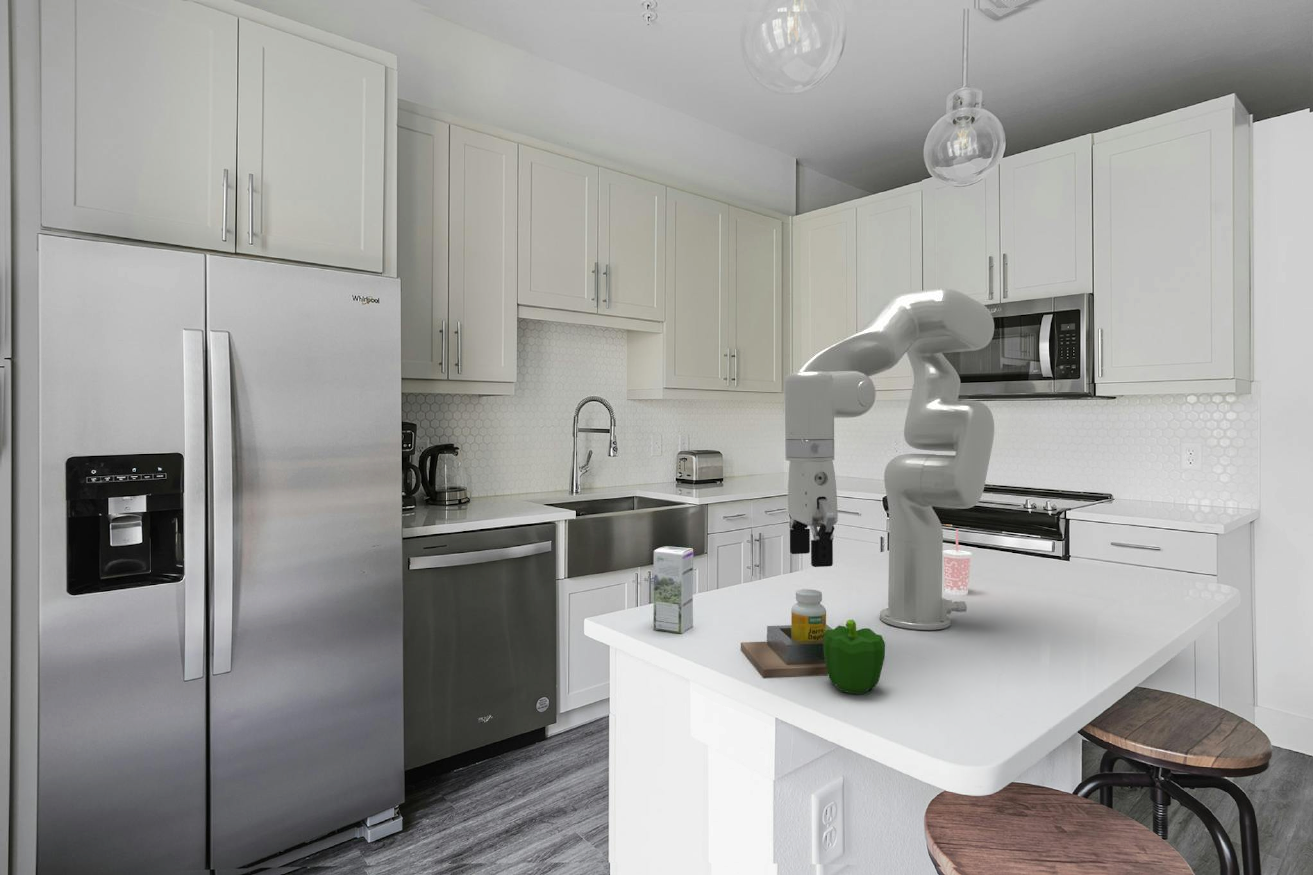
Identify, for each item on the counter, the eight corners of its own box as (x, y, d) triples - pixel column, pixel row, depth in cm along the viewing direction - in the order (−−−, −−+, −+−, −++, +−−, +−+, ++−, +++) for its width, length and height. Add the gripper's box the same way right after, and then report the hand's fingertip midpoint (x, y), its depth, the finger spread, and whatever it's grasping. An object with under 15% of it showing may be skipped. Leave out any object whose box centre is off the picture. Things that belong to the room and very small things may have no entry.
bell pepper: (844, 673, 106) (844, 606, 106) (894, 688, 100) (895, 617, 100) (809, 686, 101) (810, 616, 100) (860, 703, 94) (861, 628, 94)
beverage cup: (935, 590, 160) (936, 528, 160) (959, 588, 162) (960, 527, 161) (953, 596, 154) (954, 532, 154) (977, 595, 156) (978, 531, 156)
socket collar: (825, 642, 117) (825, 623, 117) (850, 662, 107) (850, 642, 107) (767, 644, 116) (767, 626, 116) (786, 664, 106) (786, 644, 106)
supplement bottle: (808, 645, 115) (808, 586, 115) (833, 654, 111) (834, 593, 111) (783, 651, 112) (784, 590, 112) (808, 660, 108) (809, 597, 108)
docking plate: (845, 645, 119) (845, 638, 119) (880, 672, 106) (880, 664, 106) (740, 649, 117) (740, 642, 117) (763, 677, 104) (763, 669, 104)
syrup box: (693, 626, 130) (694, 547, 130) (681, 634, 125) (682, 552, 125) (665, 622, 133) (666, 544, 133) (652, 630, 127) (652, 549, 127)
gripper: (855, 453, 103) (856, 570, 104) (813, 447, 120) (813, 548, 121) (805, 454, 102) (806, 573, 103) (769, 448, 119) (770, 550, 120)
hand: (810, 559), depth 112 cm, fingers open, 9 cm apart
